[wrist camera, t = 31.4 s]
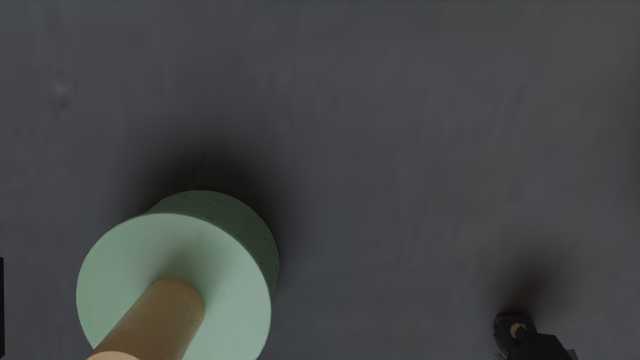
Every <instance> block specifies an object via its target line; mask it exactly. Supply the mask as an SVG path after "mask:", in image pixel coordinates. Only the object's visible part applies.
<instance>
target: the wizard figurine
mask: <svg viewBox="0 0 640 360" xmlns="http://www.w3.org/2000/svg"><path fill="white" fill-rule="evenodd" d="M494 325H495V326H496V327H497V329H496V331H495V333H494V335H493V336H494V338H495V340H496V343H497V345H498V347H499V349H500V350H501V351H502V352H503V353H504V354H505V355H506V356H507V360H517V358H518V354H519V349H520V345H521V341H522V337H523V333H524V331H527V332H534V333H538V332H537V330H536V328H535V326H534V325H533V323H532V321H531V320H530V318H529V317H528V315H497V318H496V321H495V323H494ZM566 351H567V353H568V354H569V355H570V357H571V358H572V359H573V360H578V358H577V355H576V353H575V350H574V349H572V350H566ZM495 355H496V356H497V358H498V360H506V359H504V357H503V356H502V354H501V353H499V354H495Z"/></svg>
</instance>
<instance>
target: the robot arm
mask: <svg viewBox="0 0 640 360" xmlns="http://www.w3.org/2000/svg"><path fill="white" fill-rule="evenodd" d="M4 355H5V331H4V267H3V258H2V257H0V358H2V357H3V356H4ZM517 360H573V359H572V358H571V357H570V355H569V354H568V353H567V351H566V350H565V348H564V347H563V346H562V344H561V343H560V342H559V340H558V339H557V337H556V336H555V335H548V334H541V333H534V332H527V331H524V333H523V337H522V341H521V345H520V349H519V354H518V358H517Z"/></svg>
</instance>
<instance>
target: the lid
mask: <svg viewBox="0 0 640 360" xmlns="http://www.w3.org/2000/svg"><path fill="white" fill-rule="evenodd" d="M76 302H77V310H78V316H79V319H80V322H81V326H82V329H83V331H84V333H85V335H86V337H87V339H88V341H89V342H90V344H91V346H92V347H93V349H94V350H93V352H92V353H91V354H90V355H89V356H88V357H87V358H86V360H256V359H257V357H258V356H259V355H260V353H261V351H262V349H263V347H264V345H265V343H266V340H267V337H268V334H269V331H270V326H271V321H272V308H273V306H272V296H271V291H270V287H269V283H268V280H267V278H266V275H265V272H264V270H263V268H262V267H261V265H260V263H259V261H258V259H257V258H256V257H255V255H254V254H253V253H252V251H251V250H250V249H249V248H248V247H247V246H246V245H245V243H244V242H243V241H242V240H241V239H239V238H238V237H237V236H236V235H235V234H233V233H232V232H231V231H229V230H228V229H226V228H225V227H223V226H221V225H220V224H218V223H216V222H214V221H212V220H209V219H207V218H204V217H201V216H198V215H195V214H191V213H186V212H179V211H155V212H150V213H144V214H141V215H138V216H135V217H132V218H129V219H127V220H125V221H123V222H121V223H119V224H118V225H116V226H115V227H113V228H112V229H111V230H109V231H108V232H107V233H105V234H104V235H103V236H102V237H101V238H100V239H99V240H98V241H97V242H96V243H95V245H94V246H93V247H92V248H91V250H90V251H89V253H88V255H87V256H86V258H85V260H84V262H83V265H82V267H81V269H80V273H79V277H78V281H77V290H76Z"/></svg>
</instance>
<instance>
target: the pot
mask: <svg viewBox="0 0 640 360" xmlns="http://www.w3.org/2000/svg"><path fill="white" fill-rule="evenodd" d="M155 211H179V212H186V213H191V214H195V215H198V216H201V217H204V218H207V219H209V220H212V221H214V222H216V223H218V224H220V225H221V226H223V227H225V228H226V229H228V230H229V231H231V232H232V233H233V234H235V235H236V236H237V237H238V238H239V239H241V240H242V241H243V242H244V243H245V245H246V246H247V247H248V248H249V249H250V250H251V251H252V253H253V254H254V255H255V257H256V258H257V259H258V261H259V263H260V265H261V267H262V268H263V270H264V272H265V275H266V278H267V280H268V283H269V287H270V291H271V296H272V304H273V300H274V297H275V294H276V290H277V284H278V278H279V269H280V260H279V253H278V249H277V245H276V242H275V240H274V237H273V235H272V233H271V231H270V230H269V228H268V226H267V225H266V224H265V222H264V221H263V220H262V218H261V217H260V216H259V215H258V214H257V213H256V212H255V211H254V210H252V209H251V208H250V207H249V206H247V205H246V204H244V203H243V202H241V201H240V200H238V199H236V198H234V197H231V196H229V195H226V194H223V193H220V192H215V191H208V190H191V191H185V192H180V193H177V194H174V195H171V196H169V197H165V198H163V199H162V200H161V201H160V202H158V203H157V204H156V205H154V206H153V207H152V208H151V209H149V210H148V211H147V212H145V213H150V212H155Z"/></svg>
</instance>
